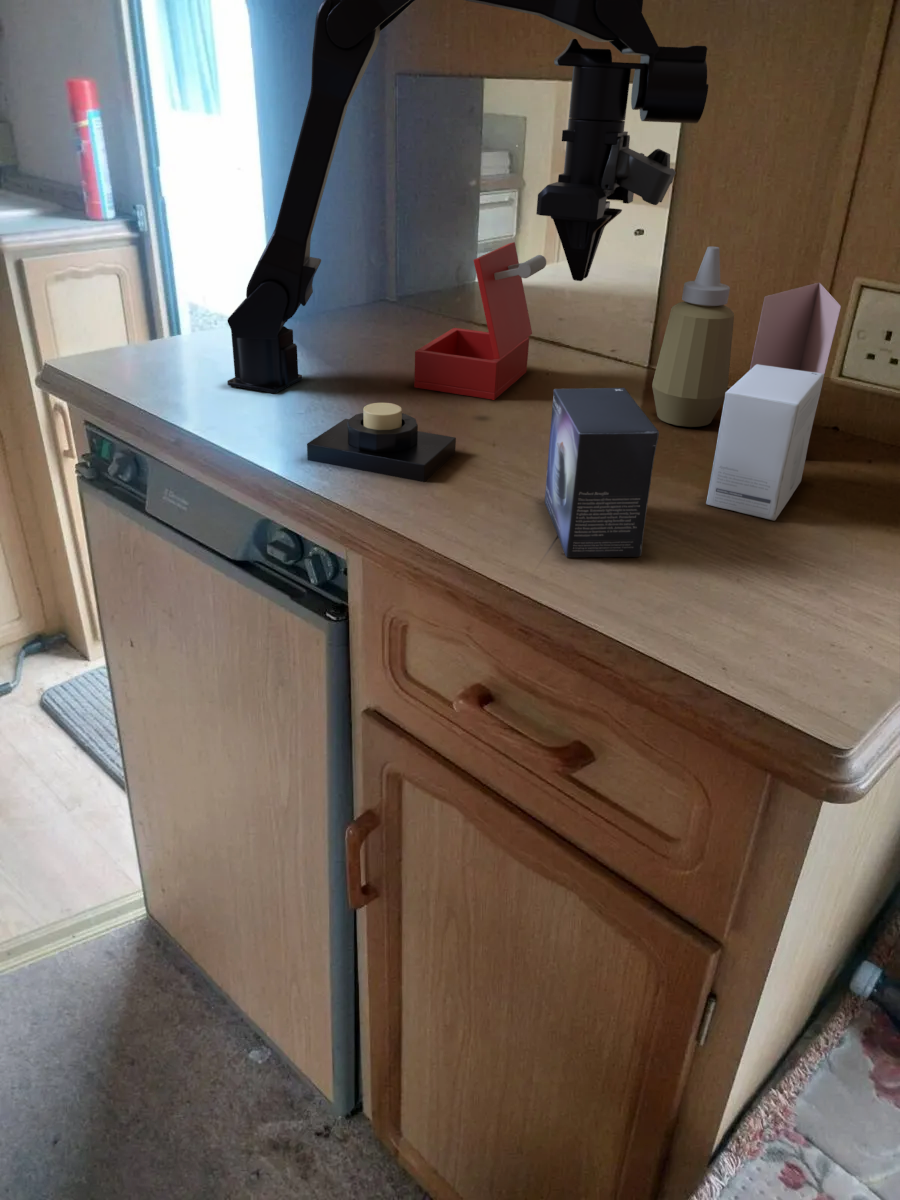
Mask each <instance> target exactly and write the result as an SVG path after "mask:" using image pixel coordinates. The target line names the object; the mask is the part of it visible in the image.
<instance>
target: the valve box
mask: <svg viewBox="0 0 900 1200" xmlns="http://www.w3.org/2000/svg"><path fill="white" fill-rule="evenodd" d="M529 346H530V337H527V338H526V339H525V340H523V341H522V342H521V343H519V344H518V345H517V346H516V347H514V348H513V349H512V350H510V351H509V352H508V353H506V354H505V355H504V356H502V357H501V358H500V359H494V355H493V350H492V346H491V341H490V336H489V331H482V330H474V329H468V328H459V327H452V328H451V329H450V330H448V331H446V332H444V333H443V334H441V335H439V336H438V337H436V338H435V339H432V340H431V341H430V342H428V343H426V344H425V345H423V346H421V347H419V348H418V349H416V350H415V351H414V381H413V382H414V384H413V385H414V386H413V388H415V389H421V390H429V391H435V392H440V393H447V394H454V395H460V396H467V397H474V398H479V399H485V400H491V401H494V400H496V399H497V398H499V396H501V395H502V394H503V393H504V392H506V391H507V390H508V389H509V388H510V387H511V386H513V384H515V383H516V382H518V380H519V379H521V378H522V377H523V376H524V375H525V374H526V373H528V361H529V359H528V358H529V349H530V348H529Z"/></svg>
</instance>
